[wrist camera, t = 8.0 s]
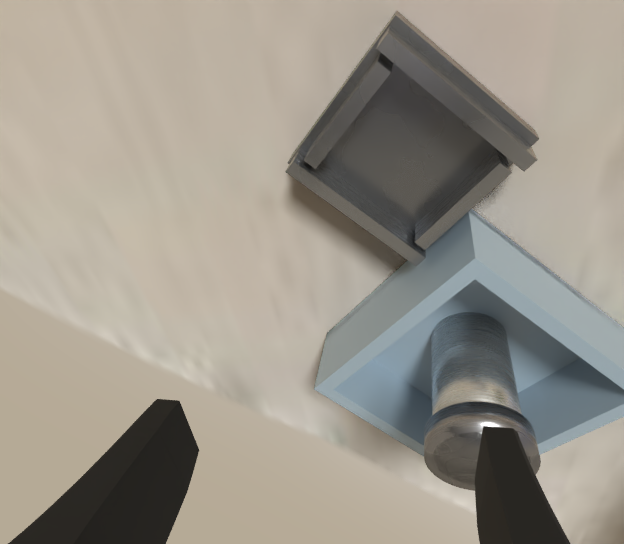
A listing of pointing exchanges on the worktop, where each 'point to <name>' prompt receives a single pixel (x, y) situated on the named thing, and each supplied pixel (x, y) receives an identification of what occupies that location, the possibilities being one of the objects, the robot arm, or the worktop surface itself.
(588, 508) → the worktop surface
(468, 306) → the bin
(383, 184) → the plate
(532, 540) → the robot arm
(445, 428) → the metal capped cylinder
